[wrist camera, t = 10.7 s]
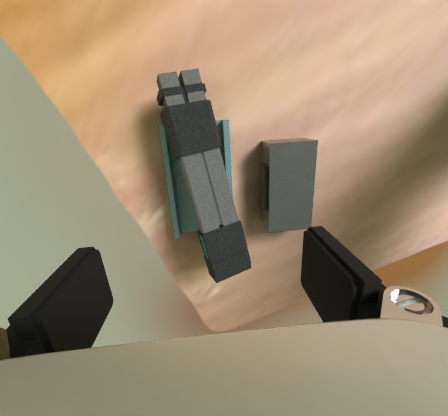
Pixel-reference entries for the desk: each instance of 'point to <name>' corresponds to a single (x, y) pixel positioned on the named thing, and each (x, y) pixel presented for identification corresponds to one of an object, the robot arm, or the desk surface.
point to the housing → (287, 183)
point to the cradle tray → (176, 184)
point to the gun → (203, 171)
